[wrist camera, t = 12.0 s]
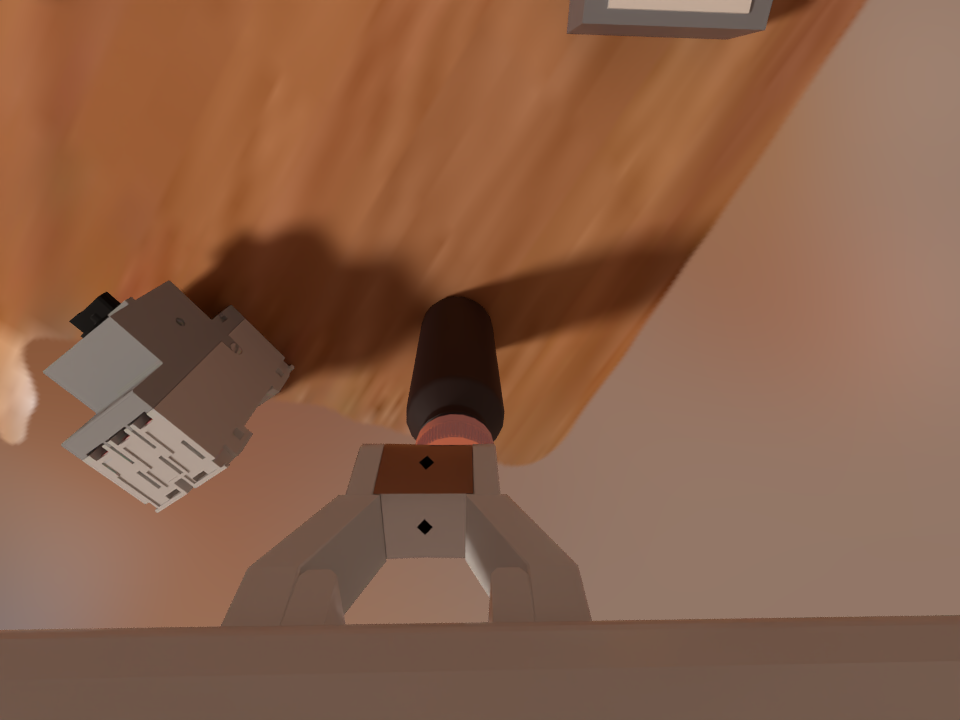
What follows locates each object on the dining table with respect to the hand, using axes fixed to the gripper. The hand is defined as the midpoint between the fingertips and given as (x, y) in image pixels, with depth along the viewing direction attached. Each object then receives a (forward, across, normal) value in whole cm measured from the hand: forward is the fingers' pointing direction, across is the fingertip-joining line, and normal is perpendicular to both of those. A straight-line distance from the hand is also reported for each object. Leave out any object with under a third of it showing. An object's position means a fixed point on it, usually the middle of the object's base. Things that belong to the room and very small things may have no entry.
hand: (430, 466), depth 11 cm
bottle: (+33, 0, +12) cm, 35 cm away
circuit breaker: (+33, +23, +12) cm, 42 cm away
